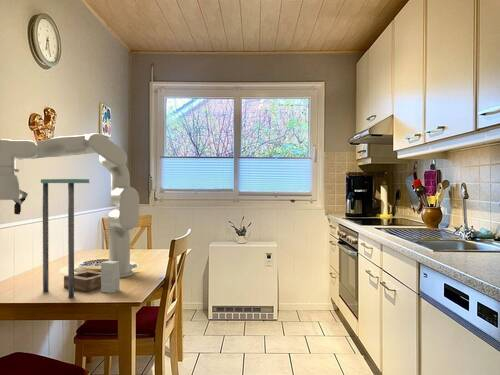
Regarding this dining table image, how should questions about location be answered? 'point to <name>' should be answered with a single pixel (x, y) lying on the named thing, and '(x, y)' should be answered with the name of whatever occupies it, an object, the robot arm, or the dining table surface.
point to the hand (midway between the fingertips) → (3, 214)
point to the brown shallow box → (85, 281)
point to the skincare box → (110, 276)
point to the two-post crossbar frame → (70, 232)
